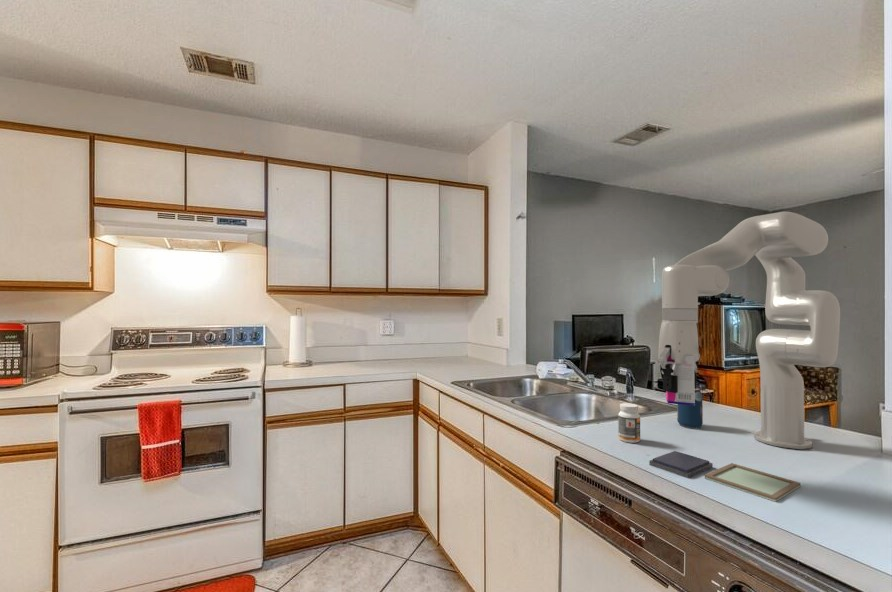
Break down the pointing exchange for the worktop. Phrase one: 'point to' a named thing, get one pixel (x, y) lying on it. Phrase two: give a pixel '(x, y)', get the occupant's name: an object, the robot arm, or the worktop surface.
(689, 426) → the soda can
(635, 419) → the pill bottle
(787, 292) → the robot arm
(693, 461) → the pad
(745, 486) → the brown picture frame
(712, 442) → the worktop surface
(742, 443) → the worktop surface
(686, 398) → the supplement box
